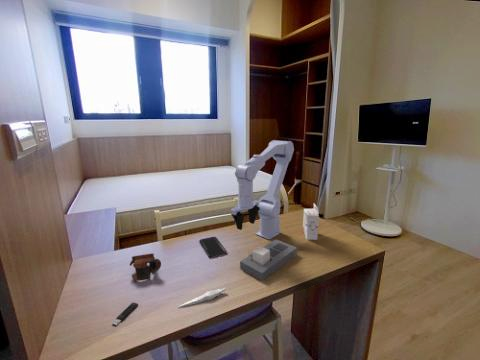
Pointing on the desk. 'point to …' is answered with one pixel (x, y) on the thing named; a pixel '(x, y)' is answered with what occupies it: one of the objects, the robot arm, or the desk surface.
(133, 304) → the usb flash drive
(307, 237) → the ink cartridge box
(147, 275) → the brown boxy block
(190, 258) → the desk surface
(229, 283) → the desk surface
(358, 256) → the desk surface
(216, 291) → the white tapered rod
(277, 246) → the power strip
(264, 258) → the plug
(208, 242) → the phone
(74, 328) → the desk surface
